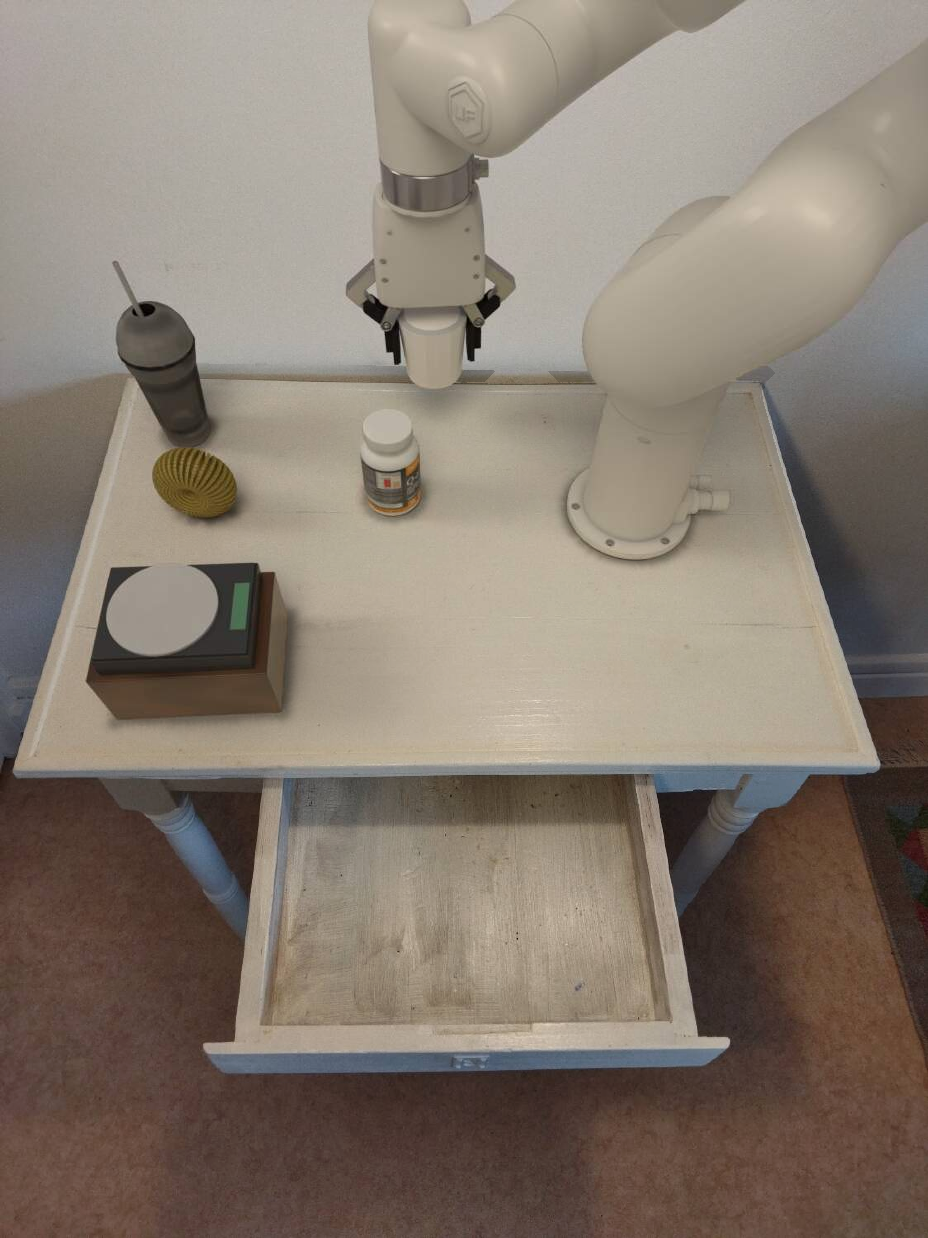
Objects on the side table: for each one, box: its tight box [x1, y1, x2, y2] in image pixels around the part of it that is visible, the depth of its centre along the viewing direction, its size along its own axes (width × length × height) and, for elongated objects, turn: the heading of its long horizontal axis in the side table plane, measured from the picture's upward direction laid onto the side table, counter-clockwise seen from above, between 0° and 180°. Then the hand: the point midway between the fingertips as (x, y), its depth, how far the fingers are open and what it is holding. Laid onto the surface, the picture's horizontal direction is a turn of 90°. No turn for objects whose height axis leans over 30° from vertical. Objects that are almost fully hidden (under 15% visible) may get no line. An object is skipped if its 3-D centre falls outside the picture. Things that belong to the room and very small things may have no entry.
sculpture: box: [151, 447, 238, 519], centre depth 76 cm, size 8×4×8 cm, turn 82°
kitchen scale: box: [89, 562, 262, 675], centre depth 63 cm, size 12×9×3 cm
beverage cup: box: [111, 260, 211, 448], centre depth 77 cm, size 7×7×20 cm
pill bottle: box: [359, 408, 422, 517], centre depth 77 cm, size 6×6×10 cm
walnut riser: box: [85, 571, 289, 720], centre depth 67 cm, size 14×10×7 cm
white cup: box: [397, 305, 467, 390], centre depth 79 cm, size 7×7×7 cm
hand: (433, 353), depth 80 cm, fingers closed on white cup, 6 cm apart
